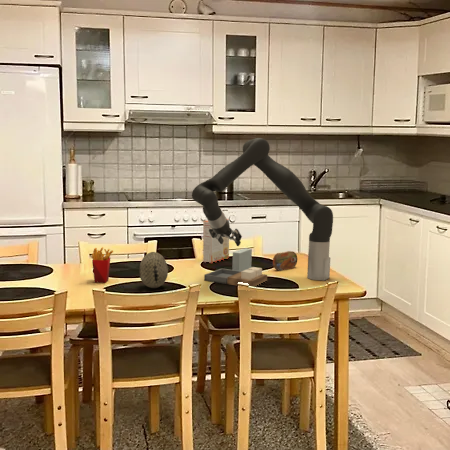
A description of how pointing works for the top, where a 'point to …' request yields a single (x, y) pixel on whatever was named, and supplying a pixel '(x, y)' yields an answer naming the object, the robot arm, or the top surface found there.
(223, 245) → the cracker box
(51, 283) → the top surface
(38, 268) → the top surface
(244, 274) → the tile
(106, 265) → the french fries
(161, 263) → the decorative egg
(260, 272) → the tile
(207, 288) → the top surface
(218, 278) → the tray
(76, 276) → the top surface
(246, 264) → the grey-blue rectangular block
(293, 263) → the tin
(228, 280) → the board
